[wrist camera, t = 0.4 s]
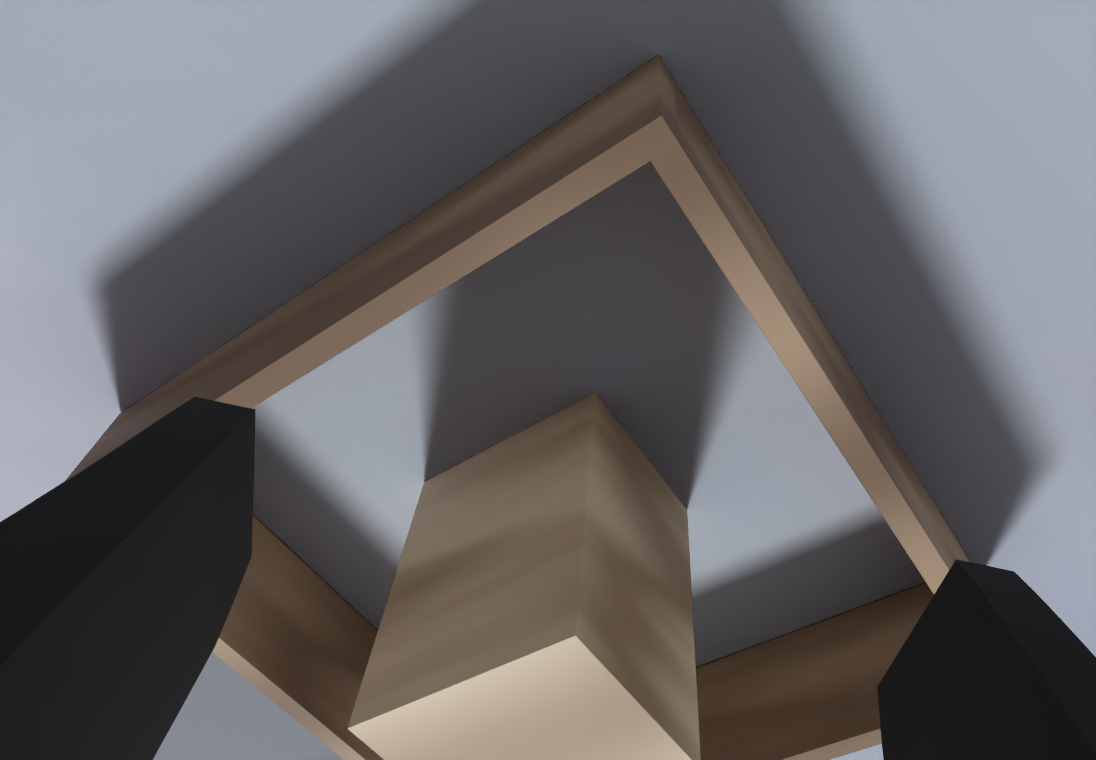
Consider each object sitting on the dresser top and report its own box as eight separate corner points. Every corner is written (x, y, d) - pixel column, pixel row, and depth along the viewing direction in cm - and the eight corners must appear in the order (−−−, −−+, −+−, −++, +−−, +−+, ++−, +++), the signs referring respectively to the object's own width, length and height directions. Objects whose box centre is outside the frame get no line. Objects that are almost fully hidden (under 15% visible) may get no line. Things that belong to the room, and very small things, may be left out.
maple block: (687, 509, 22) (701, 770, 17) (520, 583, 24) (480, 840, 18) (595, 392, 21) (575, 635, 15) (424, 481, 23) (347, 728, 17)
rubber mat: (455, 769, 29) (453, 781, 29) (275, 835, 32) (270, 847, 32) (252, 590, 25) (247, 601, 25) (69, 684, 28) (62, 695, 28)
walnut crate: (980, 578, 23) (1030, 697, 20) (493, 755, 28) (476, 868, 25) (658, 54, 17) (661, 115, 14) (120, 413, 22) (40, 511, 19)
